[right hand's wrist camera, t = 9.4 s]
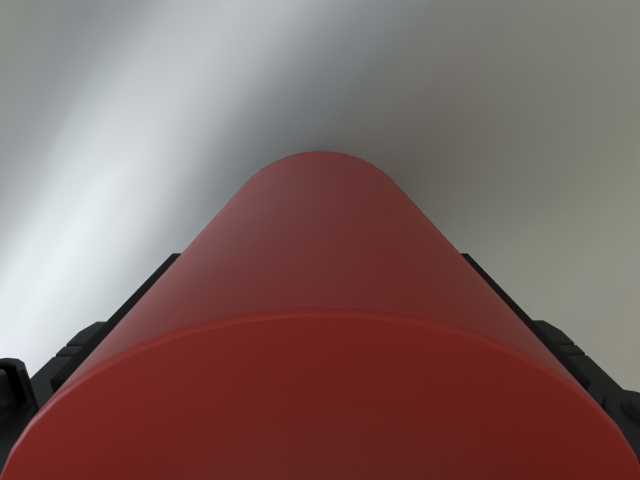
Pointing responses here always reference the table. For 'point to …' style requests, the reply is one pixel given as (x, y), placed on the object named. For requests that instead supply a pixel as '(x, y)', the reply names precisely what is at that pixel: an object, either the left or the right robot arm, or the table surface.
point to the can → (321, 357)
